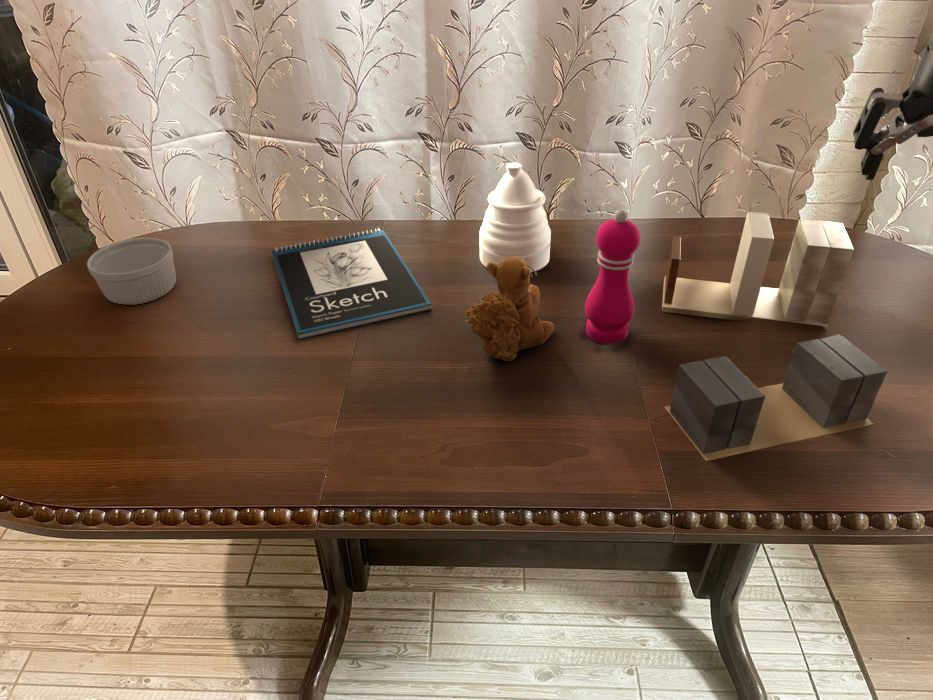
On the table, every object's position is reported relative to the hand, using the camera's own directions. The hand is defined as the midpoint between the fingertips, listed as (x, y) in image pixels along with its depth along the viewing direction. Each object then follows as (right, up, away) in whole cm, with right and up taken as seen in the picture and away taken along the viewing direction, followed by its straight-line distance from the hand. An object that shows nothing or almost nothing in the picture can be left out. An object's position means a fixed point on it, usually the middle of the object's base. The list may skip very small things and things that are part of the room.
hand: (910, 176), depth 73 cm
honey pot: (-41, -3, +47) cm, 62 cm away
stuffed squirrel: (-44, -19, +24) cm, 53 cm away
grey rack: (-12, -29, +9) cm, 32 cm away
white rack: (-6, -12, +32) cm, 34 cm away
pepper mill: (-29, -17, +26) cm, 42 cm away
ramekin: (-106, -9, +40) cm, 114 cm away
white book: (-6, -11, +31) cm, 34 cm away
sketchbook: (-71, -8, +41) cm, 82 cm away
